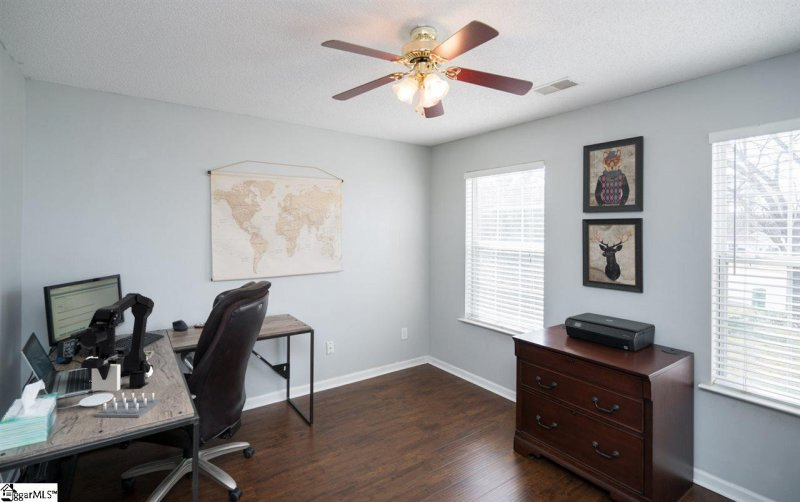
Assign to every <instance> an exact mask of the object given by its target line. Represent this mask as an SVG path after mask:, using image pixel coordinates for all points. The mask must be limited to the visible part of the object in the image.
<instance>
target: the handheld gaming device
mask: <svg viewBox="0 0 800 502" xmlns="http://www.w3.org/2000/svg"><path fill="white" fill-rule="evenodd" d="M144 352H145V354H146V356H147V360H148V359H151V358H152V356H153V355H154V353H155V350H147V351H145V350H144Z"/></svg>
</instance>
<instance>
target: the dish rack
mask: <svg viewBox="0 0 800 502" xmlns="http://www.w3.org/2000/svg"><path fill="white" fill-rule="evenodd" d="M130 394H131V395H130V397H131V399H130V398H128V399H127V397H125V392H121V393H120V399H119V400H116V396H115V397H112V400H111V401H112V404H110V405H109V406H107V402H103V404H102V405H103V406H102V410H100V411H99V412H97V413H95V418H132V419H134V418H135V419H137V418H138V419H139V418H141V417H142V416H143V415H145V414H147V413H148V412H149V411H151V410H152V409H153V408H154V407H156V406H157V405H160V403H161V401H162V400H161V399H155V392H151V393H150V396H151V398H150V399H147V397H145V392H141V393H140V395H141V396H140V399H137V397H135V392H131V393H130Z"/></svg>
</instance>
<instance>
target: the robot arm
mask: <svg viewBox="0 0 800 502" xmlns="http://www.w3.org/2000/svg"><path fill="white" fill-rule="evenodd" d="M154 306H155V302H154V300H152V298H149V297H147V296H145V295H142V294H141V293H139V292H128V293H126V295H125V296H123V297H122V298H120V299H119V300H117V301H115V302H114V303H112V304H111V305H106V306H102V307H100V308H97V309H96V310H95V312H94V313H93V315H92V317H91V319H90V321H89V324H88V326H87V328H86V330H85V332H84V333H82V335H81V336H80V340H79V341H80V342H81V344H82V345H83V346H84V348H82V349H79V353H78V355H79V358H83V359H84V360H82V361H80V369H87V368H92V369H95V368H97V369H98V371H99V373H100V375H101V377H102V380H106V378H107V375H108V372H109V368H110V365H111V364H118V363H119V361H120V360H121V358H122V357H120V358H119V357H118V356H119V355H122V356H123V358H124V362H123V368H124V372H125V374H130V375H129V380H128V381H129V383H128V385H126V387H125V388H126V389H142V388H143V387H145V386H147V385H148V384H149V381H146V377H145V373H149V371H150V368H151V366H150V364H151V363H150V362H148V359H147V356H146V354H145V350H144V347H145V340H146V339H145V337H146V331H147V324H148V318H149V316H150V315H152V313H153V309H154ZM129 308H130V309H131V310H130V313H131V314H132V316H133V318H134V319H133V320H134V321H133V328H132V334H131V336H132V337H131V343H130V349H129V348H128V347H116V345H118V344H119V341H118V340H116V327H119V324H118V323H117V322H118V321H119V320H120V319H121V318H122V317H121V314H123V313H125V311H127V310H128V309H129ZM91 356H93V357H98V358H88V357H91ZM86 358H88V359H86ZM85 359H86V360H85Z"/></svg>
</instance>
